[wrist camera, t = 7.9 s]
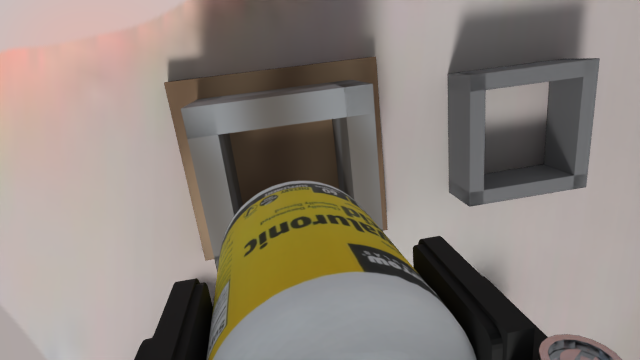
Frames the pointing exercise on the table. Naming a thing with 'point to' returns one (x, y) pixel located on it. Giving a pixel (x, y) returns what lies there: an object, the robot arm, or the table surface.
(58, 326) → the table surface
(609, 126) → the table surface
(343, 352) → the supplement bottle
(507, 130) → the table surface
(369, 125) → the socket
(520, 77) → the frame
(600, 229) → the table surface
